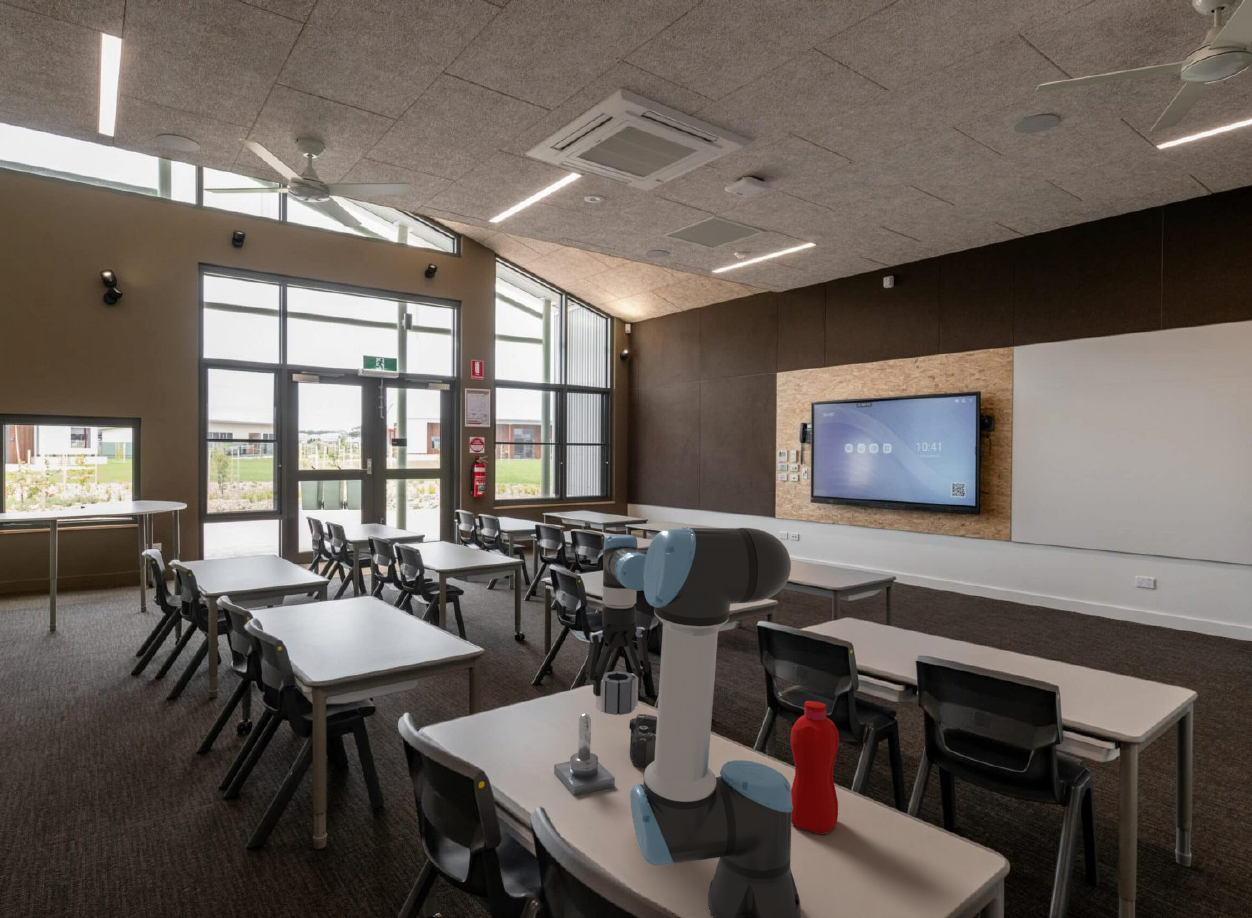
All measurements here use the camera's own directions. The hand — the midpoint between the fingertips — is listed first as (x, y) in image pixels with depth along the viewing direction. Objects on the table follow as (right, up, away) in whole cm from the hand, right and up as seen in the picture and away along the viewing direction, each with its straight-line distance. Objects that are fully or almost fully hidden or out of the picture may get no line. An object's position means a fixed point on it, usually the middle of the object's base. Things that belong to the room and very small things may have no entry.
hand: (617, 706), depth 153 cm
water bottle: (+41, -20, -10) cm, 47 cm away
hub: (0, 0, 0) cm, 0 cm away
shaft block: (-8, -19, +6) cm, 22 cm away
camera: (+7, -20, +20) cm, 29 cm away
